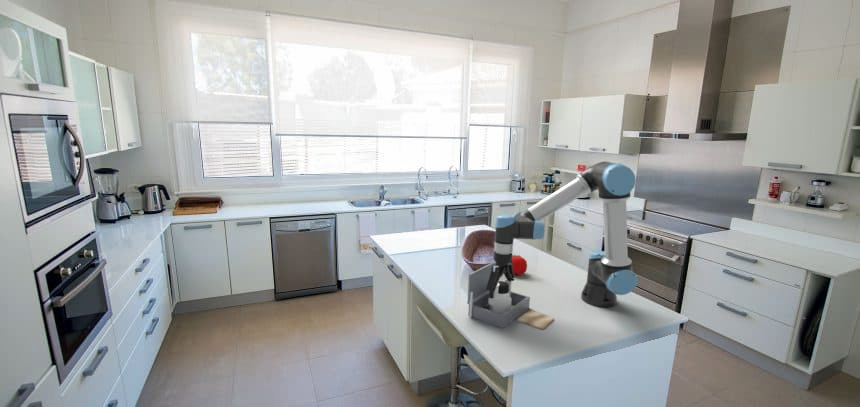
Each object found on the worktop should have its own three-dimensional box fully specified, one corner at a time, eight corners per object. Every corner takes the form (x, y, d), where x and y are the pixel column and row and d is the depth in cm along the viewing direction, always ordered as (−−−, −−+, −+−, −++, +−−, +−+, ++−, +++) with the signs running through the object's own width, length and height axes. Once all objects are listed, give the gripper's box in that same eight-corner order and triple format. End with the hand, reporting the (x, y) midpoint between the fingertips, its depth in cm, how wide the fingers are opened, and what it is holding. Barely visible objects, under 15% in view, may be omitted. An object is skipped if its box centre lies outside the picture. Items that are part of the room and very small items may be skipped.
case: (529, 307, 172) (532, 268, 168) (501, 329, 152) (504, 285, 149) (495, 296, 182) (497, 259, 178) (465, 315, 163) (467, 274, 159)
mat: (553, 319, 161) (553, 318, 161) (542, 329, 153) (543, 328, 153) (528, 311, 168) (528, 310, 168) (517, 320, 159) (517, 319, 159)
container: (506, 307, 171) (508, 279, 169) (510, 315, 164) (512, 286, 161) (488, 307, 171) (490, 279, 168) (492, 315, 163) (493, 286, 161)
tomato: (522, 279, 204) (524, 260, 202) (499, 273, 211) (501, 255, 209) (529, 272, 214) (530, 254, 212) (507, 267, 220) (508, 250, 218)
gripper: (509, 243, 174) (505, 288, 178) (479, 256, 155) (476, 306, 159) (524, 247, 169) (520, 293, 173) (496, 261, 150) (492, 312, 154)
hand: (499, 299), depth 166 cm, fingers open, 13 cm apart
